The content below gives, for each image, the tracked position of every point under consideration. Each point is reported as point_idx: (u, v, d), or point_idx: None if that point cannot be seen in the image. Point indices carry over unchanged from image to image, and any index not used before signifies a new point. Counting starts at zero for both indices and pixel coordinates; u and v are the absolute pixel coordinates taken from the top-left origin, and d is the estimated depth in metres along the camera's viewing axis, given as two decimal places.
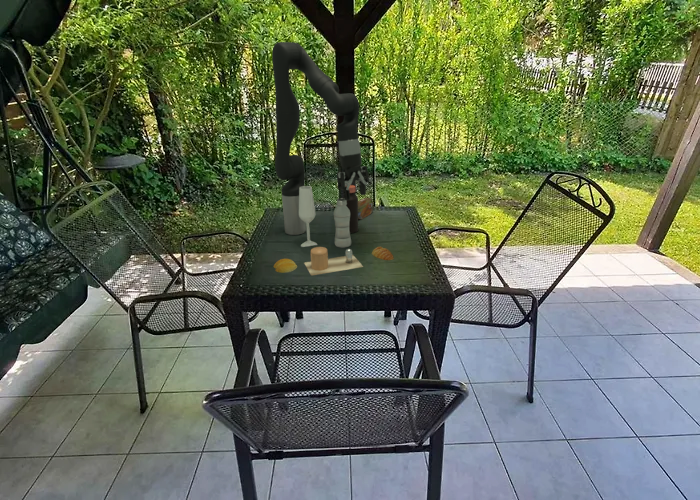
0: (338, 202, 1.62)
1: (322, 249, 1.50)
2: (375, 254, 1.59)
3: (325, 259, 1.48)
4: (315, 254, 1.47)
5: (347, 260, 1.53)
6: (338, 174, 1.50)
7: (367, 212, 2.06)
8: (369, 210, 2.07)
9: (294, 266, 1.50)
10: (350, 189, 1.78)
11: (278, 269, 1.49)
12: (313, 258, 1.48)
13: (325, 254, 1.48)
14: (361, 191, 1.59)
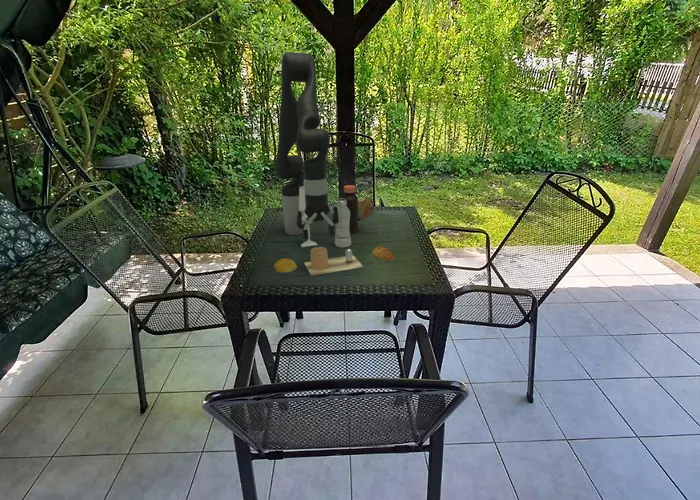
0: (338, 202, 1.62)
1: (322, 249, 1.50)
2: (376, 254, 1.59)
3: (325, 259, 1.48)
4: (315, 254, 1.47)
5: (347, 260, 1.53)
6: (296, 212, 1.42)
7: (367, 212, 2.06)
8: (369, 210, 2.07)
9: (294, 266, 1.51)
10: (350, 189, 1.78)
11: (278, 269, 1.49)
12: (313, 258, 1.48)
13: (325, 254, 1.48)
14: (329, 231, 1.48)
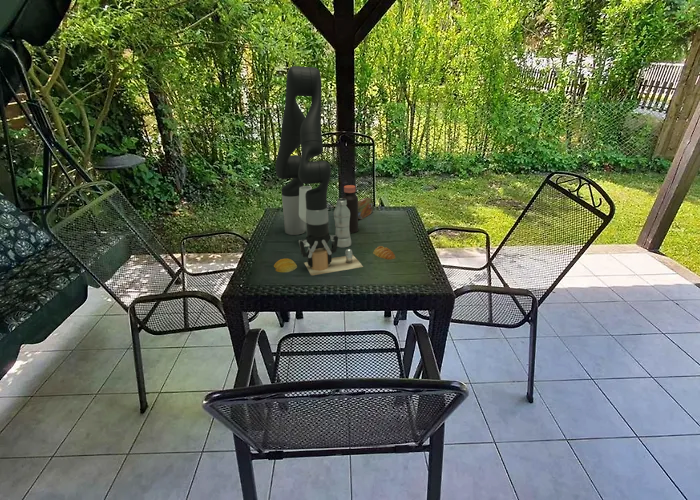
0: (338, 202, 1.62)
1: (322, 249, 1.50)
2: (377, 253, 1.60)
3: (325, 259, 1.48)
4: (315, 254, 1.47)
5: (347, 260, 1.53)
6: None
7: (367, 212, 2.06)
8: (369, 210, 2.07)
9: (294, 266, 1.51)
10: (350, 189, 1.78)
11: (278, 269, 1.49)
12: (313, 258, 1.48)
13: (325, 254, 1.48)
14: None
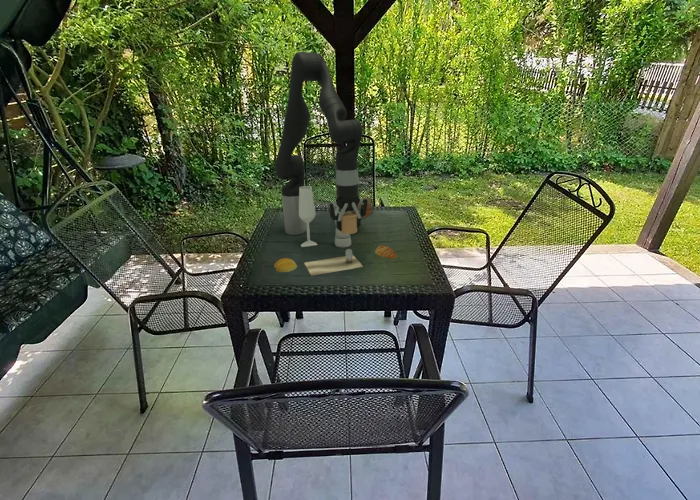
0: None
1: (351, 212, 1.48)
2: (378, 253, 1.60)
3: (355, 222, 1.47)
4: (345, 217, 1.45)
5: (347, 260, 1.53)
6: (328, 204, 1.44)
7: (367, 212, 2.06)
8: (369, 210, 2.07)
9: (294, 265, 1.51)
10: None
11: (278, 269, 1.49)
12: (343, 221, 1.46)
13: (355, 217, 1.46)
14: None
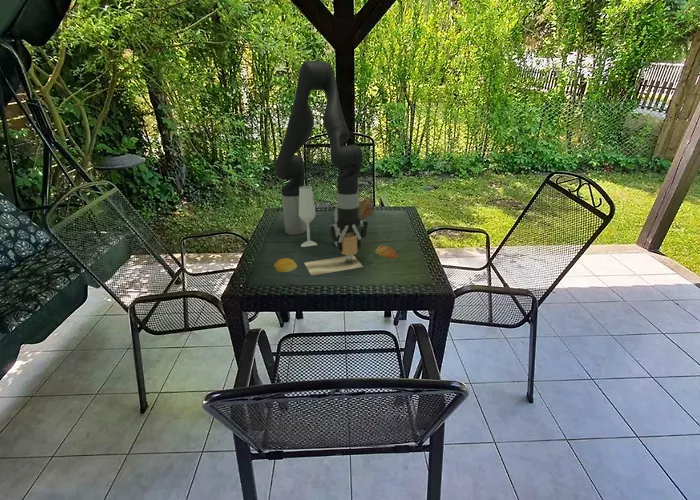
0: None
1: (352, 234, 1.51)
2: (379, 252, 1.60)
3: (355, 244, 1.50)
4: (345, 239, 1.48)
5: (347, 260, 1.53)
6: (329, 226, 1.47)
7: (367, 212, 2.06)
8: (369, 210, 2.07)
9: (294, 265, 1.51)
10: None
11: (278, 268, 1.49)
12: (343, 243, 1.49)
13: (355, 239, 1.49)
14: None
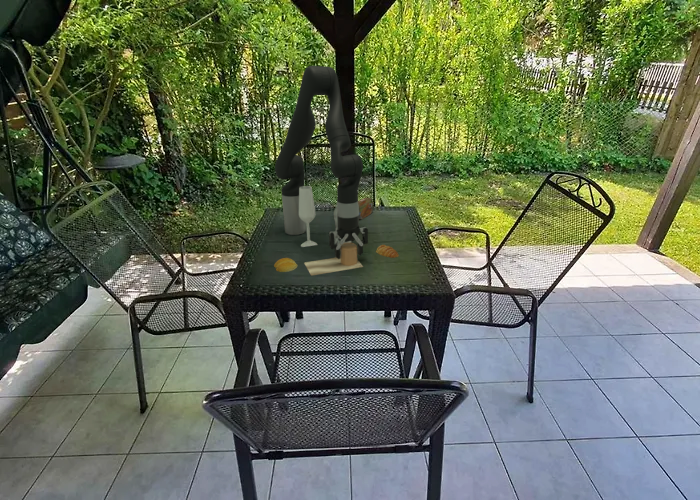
0: None
1: (352, 245, 1.53)
2: (380, 252, 1.61)
3: (355, 254, 1.52)
4: (345, 249, 1.50)
5: None
6: (329, 233, 1.48)
7: (367, 212, 2.06)
8: (369, 210, 2.07)
9: (294, 265, 1.51)
10: None
11: (278, 268, 1.49)
12: (343, 253, 1.51)
13: (355, 249, 1.51)
14: (358, 251, 1.55)
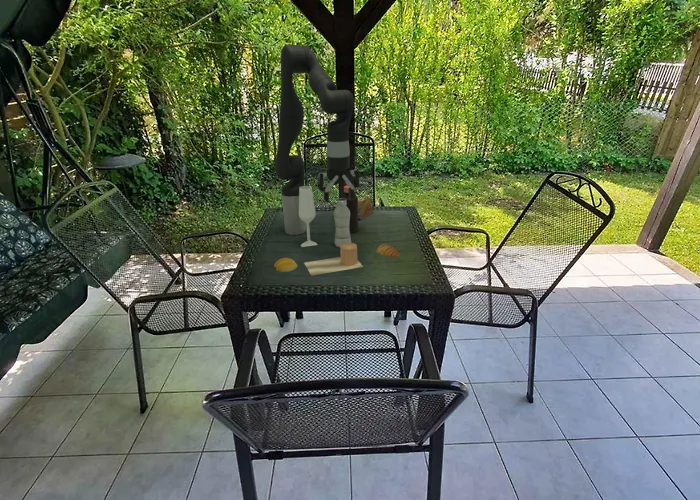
0: (338, 202, 1.62)
1: (352, 245, 1.53)
2: (381, 252, 1.61)
3: (355, 254, 1.52)
4: (345, 249, 1.50)
5: None
6: (318, 174, 1.43)
7: (367, 212, 2.06)
8: (369, 210, 2.07)
9: (294, 265, 1.51)
10: None
11: (279, 268, 1.49)
12: (343, 253, 1.51)
13: (355, 249, 1.51)
14: (349, 195, 1.49)
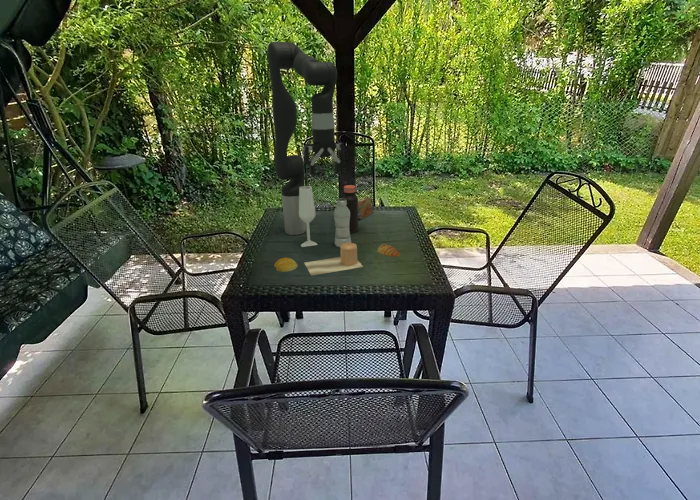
0: (338, 202, 1.62)
1: (352, 245, 1.53)
2: (381, 251, 1.61)
3: (355, 254, 1.52)
4: (345, 249, 1.50)
5: None
6: (304, 147, 1.44)
7: (367, 212, 2.06)
8: (369, 210, 2.07)
9: (295, 265, 1.51)
10: (350, 189, 1.78)
11: (279, 268, 1.49)
12: (343, 253, 1.51)
13: (355, 249, 1.51)
14: (335, 169, 1.50)
